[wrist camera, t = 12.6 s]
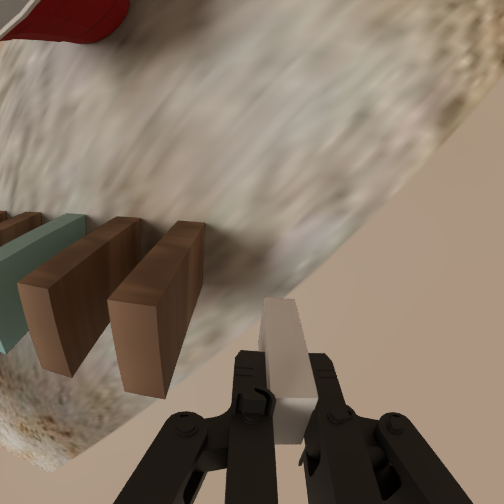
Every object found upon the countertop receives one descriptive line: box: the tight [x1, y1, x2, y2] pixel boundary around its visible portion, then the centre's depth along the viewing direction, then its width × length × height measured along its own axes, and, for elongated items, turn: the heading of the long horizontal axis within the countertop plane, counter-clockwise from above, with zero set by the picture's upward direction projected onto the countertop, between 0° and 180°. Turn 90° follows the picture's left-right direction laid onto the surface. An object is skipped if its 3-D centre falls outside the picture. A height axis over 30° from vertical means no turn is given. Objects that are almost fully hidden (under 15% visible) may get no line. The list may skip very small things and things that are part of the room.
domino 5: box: [107, 221, 205, 399], centre depth 17 cm, size 2×5×12 cm, turn 175°
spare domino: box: [0, 214, 86, 354], centre depth 17 cm, size 2×5×12 cm, turn 175°
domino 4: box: [17, 217, 141, 378], centre depth 17 cm, size 2×5×12 cm, turn 174°
